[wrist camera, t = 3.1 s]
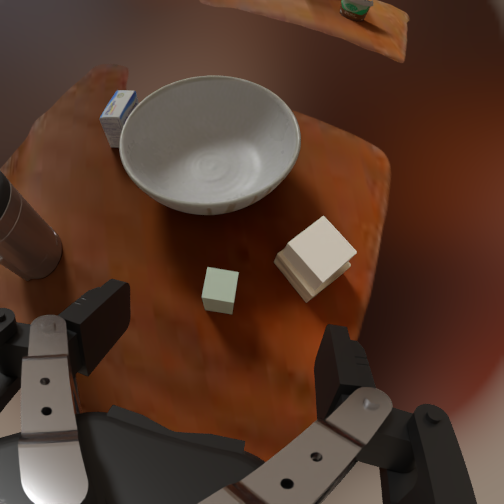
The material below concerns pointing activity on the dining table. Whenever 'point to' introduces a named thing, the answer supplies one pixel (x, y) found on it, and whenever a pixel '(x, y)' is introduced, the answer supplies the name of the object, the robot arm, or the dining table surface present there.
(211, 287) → the pale green block
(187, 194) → the decorative bowl
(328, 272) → the white block
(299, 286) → the bottom block
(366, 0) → the food container
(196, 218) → the dining table surface
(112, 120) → the medicine box
